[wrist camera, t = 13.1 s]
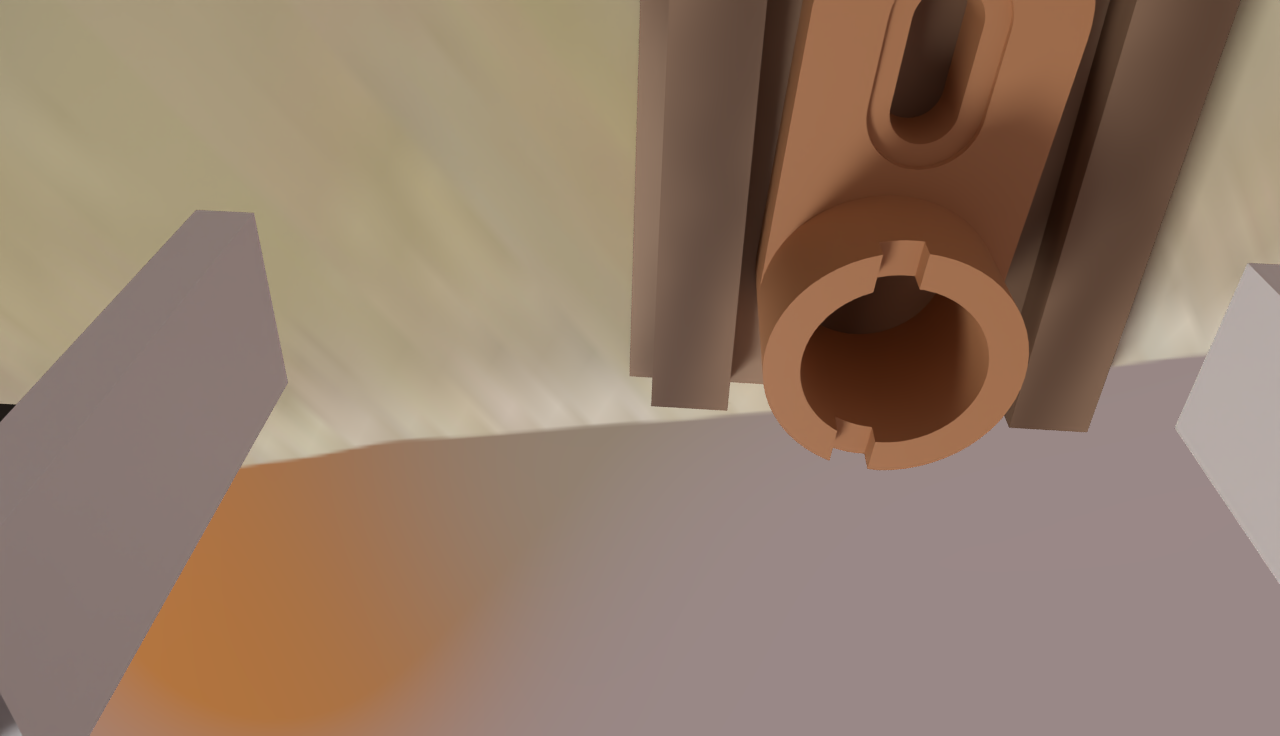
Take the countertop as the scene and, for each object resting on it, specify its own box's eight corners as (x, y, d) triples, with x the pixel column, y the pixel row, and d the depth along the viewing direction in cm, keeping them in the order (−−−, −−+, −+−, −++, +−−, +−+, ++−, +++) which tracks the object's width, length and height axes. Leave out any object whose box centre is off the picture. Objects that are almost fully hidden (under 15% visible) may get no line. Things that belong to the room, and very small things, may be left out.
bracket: (945, 369, 40) (985, 482, 34) (739, 346, 40) (744, 454, 34) (1106, -126, 30) (1201, -85, 24) (830, -157, 30) (859, -125, 24)
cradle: (630, 368, 41) (626, 404, 39) (648, -255, 29) (643, -252, 27) (1092, 395, 40) (1113, 433, 38) (1310, -231, 28) (1360, -226, 26)
